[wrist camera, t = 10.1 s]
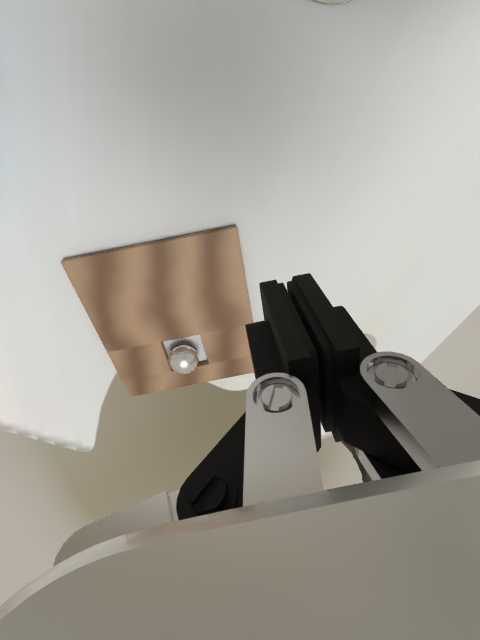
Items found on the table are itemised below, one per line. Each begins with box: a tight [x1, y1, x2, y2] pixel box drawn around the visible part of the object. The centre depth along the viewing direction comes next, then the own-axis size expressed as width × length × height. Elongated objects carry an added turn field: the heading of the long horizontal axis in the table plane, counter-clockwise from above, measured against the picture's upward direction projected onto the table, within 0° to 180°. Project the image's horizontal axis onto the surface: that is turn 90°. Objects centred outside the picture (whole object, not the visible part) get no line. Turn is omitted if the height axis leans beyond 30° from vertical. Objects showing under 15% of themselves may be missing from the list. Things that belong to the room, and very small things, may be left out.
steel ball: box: [169, 345, 198, 374], centre depth 44 cm, size 4×4×4 cm
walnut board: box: [61, 225, 254, 396], centre depth 42 cm, size 20×22×1 cm
